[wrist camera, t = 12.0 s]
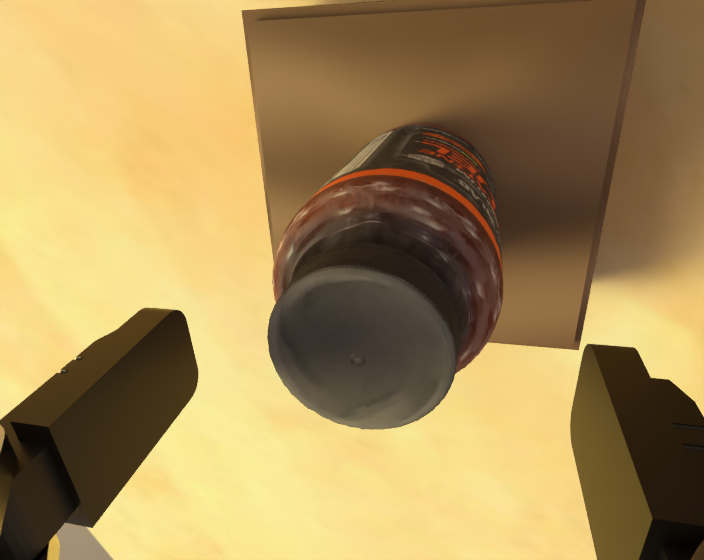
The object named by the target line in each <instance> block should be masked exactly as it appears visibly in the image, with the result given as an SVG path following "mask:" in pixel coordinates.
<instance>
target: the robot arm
mask: <svg viewBox="0 0 704 560" xmlns="http://www.w3.org/2000/svg"><path fill="white" fill-rule="evenodd" d="M197 382H198V367H197V363H196V359H195V354H194V350H193V346H192V342H191V337H190V333H189V329H188V325H187V321H186V318H185V316H184V314H183V313H182V312H181V311H179V310H170V309H158V308H143V309H141V310H140V311H138V312H137V313H136V314H135V315H134V316H133V317H131V318H130V319H129V320H128V321H127V322H126V323H124V324H123V325H122V326H121V327H120V328H118V329H117V330H115V331H114V332H112V333H110V334H108V335H106V336H104V337H102V338H100V339H98V340H96V341H95V342H93V343H92V344H91V345H90V346H89V347H87V348H86V349H85V350H84V351H83V352H81V353H80V354H79V355H78V356H77V359H76V360H72V361H71V362H69V363H68V364H67V365H66V366H65V367H63V368H62V369H61V372H60V373H56V374H55V375H54V376H53V377H51V378H50V379H49V380H48V381H47V382H45V383H44V384H43V385H42V386H41V387H39V388H38V389H37V390H36V391H34V392H33V393H32V394H31V395H30V396H28V397H27V398H26V399H25V400H24V401H22V402H21V403H20V404H19V405H18V406H16V407H15V408H14V409H13V410H12V411H10V412H9V413H8V414H7V415H6V416H4V417H3V418H2V419H1V420H0V560H59V550H60V545H59V541H58V538H57V536H56V533H57V531H58V530H59V529H60V528H61V527H62V526H63V524H64V523H71V524H76V525H81V526H85V527H91V528H93V526H94V525H95V524H96V522H97V521H98V520H99V519H100V517H101V516H102V515H103V513H104V512H105V511H106V509H107V508H108V507H109V505H110V504H111V503H112V501H113V500H114V499H115V498H116V496H117V495H118V494H119V492H120V491H121V490H122V488H123V487H124V486H125V484H126V483H127V482H128V481H129V479H130V478H131V477H132V475H133V474H134V473H135V471H136V470H137V469H138V467H139V466H140V465H141V463H142V462H143V461H144V460H145V458H146V457H147V456H148V454H149V453H150V452H151V450H152V449H153V448H154V446H155V445H156V444H157V443H158V441H159V440H160V439H161V437H162V436H163V435H164V433H165V432H166V431H167V429H168V428H169V427H170V425H171V424H172V423H173V422H174V420H175V419H176V418H177V416H178V415H179V414H180V412H181V411H182V410H183V408H184V407H185V406H186V405H187V403H188V402H189V401H190V399H191V398H192V396H193V394H194V392H195V390H196V387H197ZM570 427H571V442H572V448H573V452H574V457H575V461H576V466H577V470H578V475H579V479H580V484H581V488H582V493H583V497H584V502H585V506H586V511H587V515H588V520H589V524H590V529H591V533H592V538H593V542H594V547H595V551H596V556H597V560H704V417H703V415H702V414H701V412H700V410H699V408H698V407H697V405H696V403H695V402H694V401H693V400H692V399H691V398H690V397H689V396H687V395H686V394H685V393H684V392H683V391H682V390H680V389H679V388H678V387H677V386H676V385H675V384H673V383H672V382H671V381H670V380H666V379H656V378H650V376H649V374H648V372H647V369H646V367H645V365H644V363H643V361H642V359H641V357H640V355H639V353H638V351H637V350H636V349H635V348H633V347H620V346H608V345H595V344H587V345H586V347H585V349H584V352H583V356H582V361H581V366H580V371H579V376H578V381H577V386H576V391H575V396H574V401H573V406H572V412H571V425H570Z"/></svg>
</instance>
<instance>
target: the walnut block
mask: <svg viewBox="0 0 704 560" xmlns="http://www.w3.org/2000/svg"><path fill="white" fill-rule="evenodd" d="M645 1H646V0H393V1H378V2H363V3H347V4H332V5H317V6H302V7H287V8H272V9H257V10H242V17H243V25H244V33H245V40H246V48H247V56H248V64H249V72H250V80H251V87H252V95H253V103H254V111H255V119H256V127H257V134H258V142H259V150H260V158H261V166H262V174H263V182H264V189H265V197H266V205H267V213H268V221H269V229H270V236H271V244H272V252H273V260H274V261H275V256H276V251H277V248H278V244H279V243H280V241H281V238H282V235H283V233H284V231H285V230H286V228H287V226H288V225H289V223H290V222H291V220H292V219H293V217H294V216H295V214H296V213H297V212H298V211H299V210H300V208H301V207H302V206H304V205H305V204H306V203H307V202H308V201H309V200H310V199H311V198H312V197H313V195H314V194H315V193H316V192H317V191H318V190H319V189H321V188H322V187H323V186H324V185H325V184H326V183H327V182H328V181H329V180H330V179H331V178H332V177H333V176H334V175H335V174H336V173H337V172H338V171H339V170H341V169H342V168H343V167H344V166H345V165H346V164H347V163H348V162H349V161H350V160H351V159H352V158H353V157H354V156H355V155H356V154H357V153H358V152H359V151H360V150H361V149H362V148H363V147H364V146H366V145H367V144H368V143H369V142H371V141H372V140H374V139H375V138H376V137H378V136H380V135H381V134H382V133H385V132H387V131H389V130H391V129H395V128H397V127H401V126H403V125H410V124H427V125H435V126H439V127H443V128H446V129H448V130H451V131H453V132H455V133H457V134H458V135H460V136H462V137H463V138H465V139H466V140H468V141H469V142H470V143H471V144H472V145H473V146H474V147H475V148H476V149H477V150H478V151H479V152H480V154H481V155H482V156H483V158H484V160H485V161H486V163H487V165H488V167H489V169H490V172H491V174H492V176H493V180H494V182H495V187H496V194H497V200H498V218H499V233H500V243H501V251H502V266H503V301H502V306H501V311H500V315H499V318H498V320H497V323H496V326H495V329H494V331H493V333H492V335H491V337H490V339H489V340H488V342H491V343H502V344H514V345H526V346H538V347H550V348H561V349H573V350H579V346H580V341H581V335H582V330H583V325H584V320H585V314H586V309H587V304H588V299H589V294H590V288H591V283H592V278H593V273H594V267H595V262H596V257H597V252H598V247H599V241H600V236H601V231H602V226H603V220H604V215H605V210H606V205H607V199H608V194H609V189H610V184H611V179H612V173H613V168H614V163H615V158H616V152H617V147H618V142H619V137H620V131H621V126H622V121H623V116H624V111H625V105H626V100H627V95H628V90H629V84H630V79H631V74H632V69H633V63H634V58H635V53H636V48H637V43H638V37H639V32H640V27H641V22H642V16H643V11H644V6H645Z"/></svg>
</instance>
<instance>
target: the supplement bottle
mask: <svg viewBox="0 0 704 560" xmlns="http://www.w3.org/2000/svg"><path fill="white" fill-rule="evenodd" d="M272 284H273V290H274V297H275V301H276V304H275V306H274V308H273V311H272V313H271V316H270V319H269V327H268V336H267V338H268V344H269V353H270V357H271V359H272V362H273V364H274V366H275V369H276V372H277V373H278V375H279V377H280V378H281V380H282V382H283V384H284V385H285V386H286V387H287V388H288V390H289V391H290V392H291V394H292V395H293V396H295V397H296V398H297V399H298V400H299V401H300V402H301V403H302V404H303V405H304V406H306V407H307V408H308V409H311V410H313V411H315V412H316V413H318V414H319V415H320V416H322V417H324V418H326V419H329V420H331V421H333V422H335V423H338V424H342V425H347V426H349V427H356V428H360V429H390V428H396V427H401V426H404V425H407V424H409V423H412V422H414V421H417V420H419V419H420V418H422V417H424V416H425V415H427V414H428V413H430V412H431V411H432V410H433V409H434V408H435V407H436V406H438V405H439V404H440V402H441V401H442V400H443V399H444V398H445V396H446V394H447V393H448V391H449V389H450V387H451V384H452V382H453V380H454V375H455V374H456V373H457V372H459V371H460V370H461V369H463V368H465V367H466V366H467V365H468V364H469V363H470V362H471V361H472V360H473V359H474V358H475V357H476V356H477V355H478V354H479V353H480V351H481V350H482V349H483V347H484V346H485V345H486V344H487V342H488V340H489V339H490V337H491V335H492V333H493V331H494V329H495V326H496V323H497V320H498V318H499V315H500V311H501V306H502V301H503V266H502V251H501V243H500V233H499V218H498V200H497V194H496V187H495V182H494V180H493V176H492V174H491V172H490V169H489V167H488V165H487V163H486V161H485V160H484V158H483V156H482V155H481V154H480V152H479V151H478V150H477V149H476V148H475V147H474V146H473V145H472V144H471V143H470V142H469V141H468V140H466V139H465V138H463V137H462V136H460V135H458V134H457V133H455V132H453V131H451V130H448V129H446V128H443V127H439V126H435V125H427V124H410V125H403V126H401V127H397V128H395V129H391V130H389V131H387V132H385V133H382V134H381V135H380V136H378V137H376V138H375V139H374V140H372V141H371V142H369V143H368V144H367V145H366V146H364V147H363V148H362V149H361V150H360V151H359V152H358V153H357V154H356V155H355V156H354V157H353V158H352V159H351V160H350V161H349V162H348V163H347V164H346V165H345V166H344V167H343V168H342V169H341V170H339V171H338V172H337V173H336V174H335V175H334V176H333V177H332V178H331V179H330V180H329V181H328V182H327V183H326V184H325V185H324V186H323V187H322V188H321V189H319V190H318V191H317V192H316V193H315V194H314V195H313V197H312V198H311V199H310V200H309V201H308V202H307V203H306V204H305V205H304V206H302V207H301V208H300V210H299V211H298V212H297V213H296V214H295V216H294V217H293V219H292V220H291V222H290V223H289V225H288V226H287V228H286V230H285V231H284V233H283V235H282V238H281V241H280V243H279V244H278V248H277V251H276V256H275V261H274V267H273V280H272Z"/></svg>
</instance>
